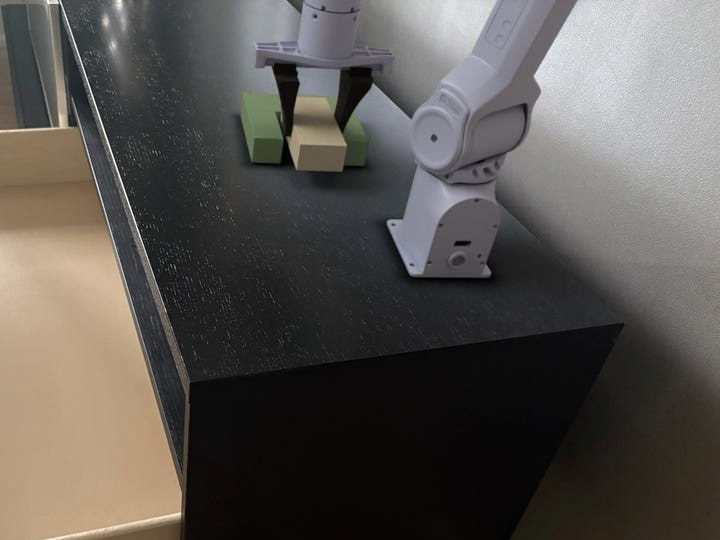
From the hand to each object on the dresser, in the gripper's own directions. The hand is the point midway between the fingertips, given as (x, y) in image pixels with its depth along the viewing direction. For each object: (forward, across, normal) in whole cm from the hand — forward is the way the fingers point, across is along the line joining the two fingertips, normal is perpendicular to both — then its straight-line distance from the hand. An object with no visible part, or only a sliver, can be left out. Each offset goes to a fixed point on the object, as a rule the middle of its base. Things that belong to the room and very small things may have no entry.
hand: (311, 133), depth 84 cm
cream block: (+1, 0, 0) cm, 1 cm away
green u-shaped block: (+3, 0, -5) cm, 6 cm away
